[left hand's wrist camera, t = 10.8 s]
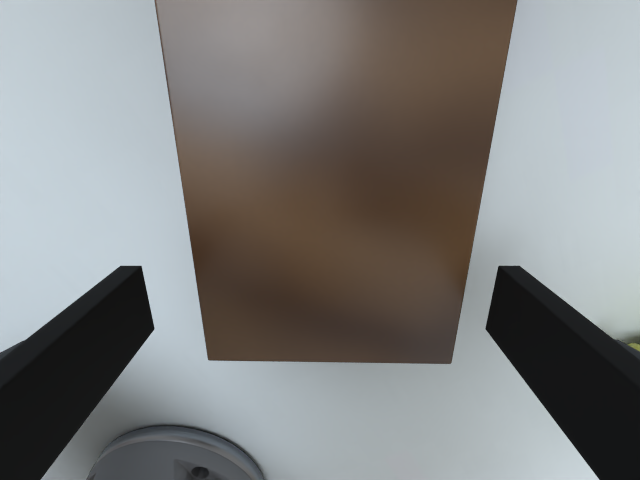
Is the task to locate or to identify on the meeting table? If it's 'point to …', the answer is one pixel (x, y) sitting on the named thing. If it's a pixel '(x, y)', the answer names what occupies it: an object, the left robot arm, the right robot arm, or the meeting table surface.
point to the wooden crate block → (333, 169)
